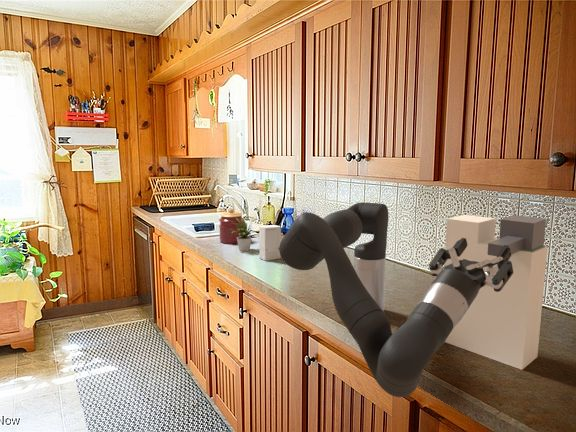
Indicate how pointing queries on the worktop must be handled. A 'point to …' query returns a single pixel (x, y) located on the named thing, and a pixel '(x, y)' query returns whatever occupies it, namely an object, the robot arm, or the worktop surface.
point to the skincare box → (269, 242)
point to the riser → (499, 298)
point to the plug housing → (519, 234)
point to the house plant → (243, 236)
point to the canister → (229, 226)
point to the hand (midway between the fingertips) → (485, 244)
